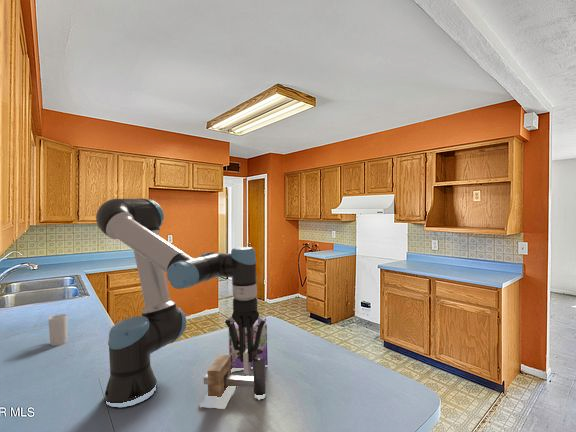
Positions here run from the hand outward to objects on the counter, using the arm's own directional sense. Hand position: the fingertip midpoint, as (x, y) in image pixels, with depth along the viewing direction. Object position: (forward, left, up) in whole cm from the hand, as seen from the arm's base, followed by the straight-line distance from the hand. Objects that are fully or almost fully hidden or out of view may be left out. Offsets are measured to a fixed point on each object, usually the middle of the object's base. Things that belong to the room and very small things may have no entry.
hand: (247, 371), depth 98 cm
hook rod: (-4, 0, -8) cm, 9 cm away
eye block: (-9, 0, -8) cm, 12 cm away
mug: (-98, +29, -8) cm, 103 cm away
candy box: (-5, +18, -8) cm, 21 cm away
